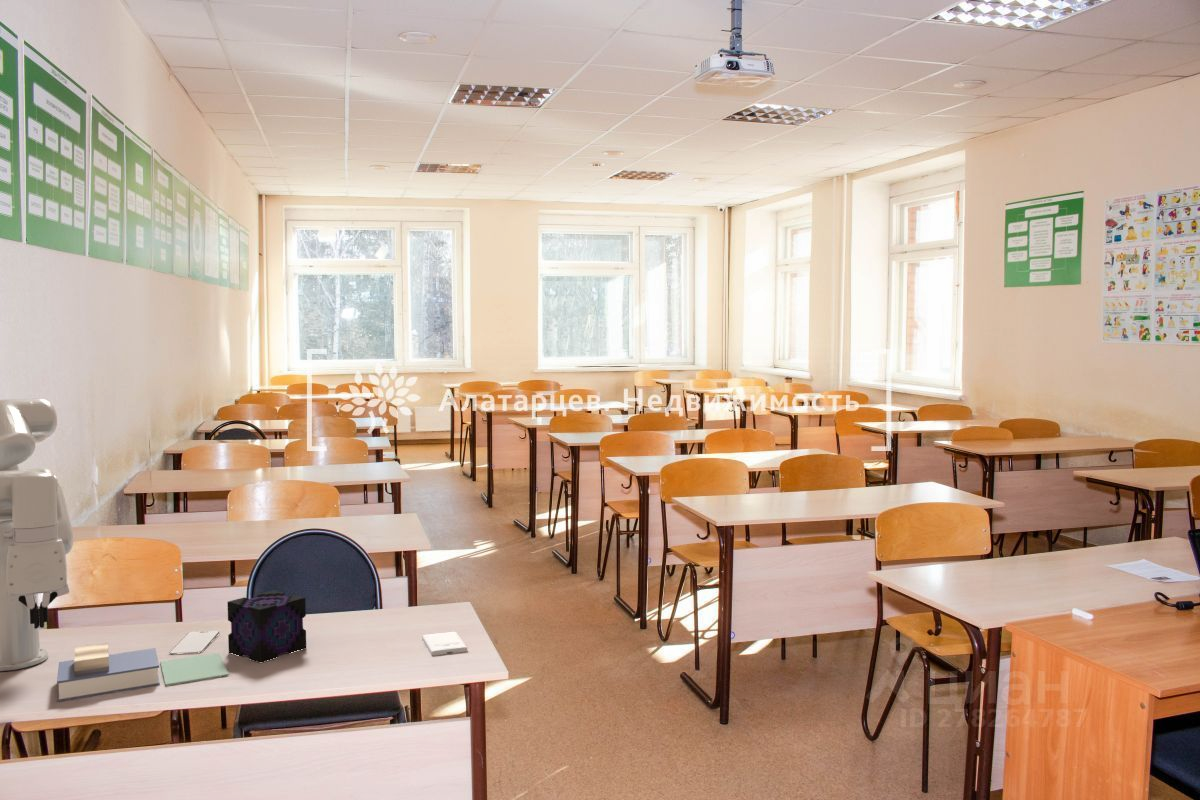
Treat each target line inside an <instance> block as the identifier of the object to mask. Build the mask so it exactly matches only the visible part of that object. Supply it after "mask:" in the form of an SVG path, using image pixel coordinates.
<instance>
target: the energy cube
mask: <svg viewBox="0 0 1200 800" xmlns="http://www.w3.org/2000/svg"><path fill="white" fill-rule="evenodd" d="M306 606H307V605H306V597H305V596H300V595H295V594H291V595H290V596H287V595H285V592H283V591H277V590H274V589H273V590H269V591H265V592H260V593H257V594H256V596H255V597H251V598H247V597H240V598H237V599H232V600H228V601H227V621H228V622H230V631H231V632H230V633H229V634H228V640H227V642H228V654H229V653H233V654H236V655H239V656H241V657H245V656H246V657H248V660H249V659H251V660H250V661H252V660H254V661H253V662H255V661H258V662H257V663H259V662H263V663H265V662H264V661H266V662H268V661H267V660H269V661H271V660H270V659H272V660H274V659H273V658H276V657H278V658H279V655H282V654H283V655H284V654H286V653H287V652H288V654H289V653H291V652H294V651H297V650H300V651H302V650H301V649H303V650H305V649H304V648H306V649H307V630H306V629H305V628H304V622H303V621H304V618H306V614H307V613H306V609H307V607H306ZM297 652H298V651H297ZM294 653H295V652H294ZM291 654H292V653H291ZM236 655H235V656H236ZM243 655H244V656H243ZM239 656H238V657H239ZM276 659H277V658H276Z"/></svg>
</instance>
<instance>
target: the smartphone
mask: <svg viewBox="0 0 1200 800" xmlns="http://www.w3.org/2000/svg"><path fill="white" fill-rule="evenodd" d="M218 634H219V635H220V631H219V630H201V631H190V632H188V633H187V634H185V636H184V637H183V638H182V639H181V640H180V641H179V642H178V643H177V644H176V645H175V646H174V647H173V648H171V650H170V651H169V653H170V654H177V653H198V652H202V651H203V650H204V649H205V648H206V647H207V646H208V645H209V644H210V643H211V641H212V640H213V639H214V638H215V637H216V636H217V635H218ZM211 644H212V643H211ZM211 644H210V645H211ZM210 645H209V646H210ZM209 646H208V647H209ZM208 647H207V648H208ZM207 648H206V649H207ZM206 649H205V650H206ZM205 650H204V651H205ZM204 651H203V652H204ZM203 652H202V653H203ZM170 654H169V655H170Z"/></svg>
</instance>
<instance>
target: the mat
mask: <svg viewBox="0 0 1200 800" xmlns="http://www.w3.org/2000/svg"><path fill="white" fill-rule="evenodd" d="M160 663H161V664H160V667H161V671H162V676H163V681H164V685H165V687H168V686H175V685H180V684H181V685H182V684H188V683H193V682H198V681H206V680H211V679H210V678H212V679H216V678H215V677H218V678H221V677H220V676H224V677H227V676H226V675H229V672H228V670H227V667H226V664H225V663H224V659H222V656H221V654H220V652H214V653H208V654H201V655H194V656H189V657H187V656H186V657H180V658H175V659H174V658H173V659H167V660H162V661H160Z"/></svg>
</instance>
